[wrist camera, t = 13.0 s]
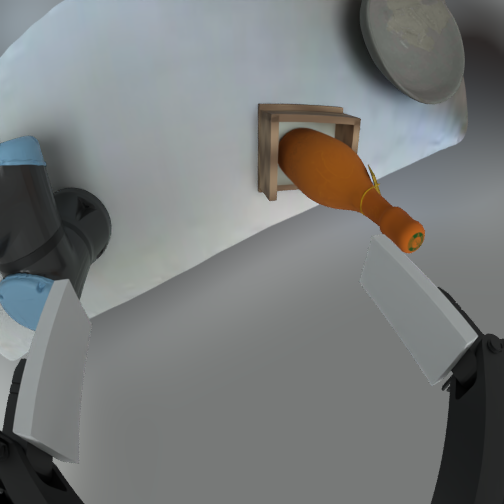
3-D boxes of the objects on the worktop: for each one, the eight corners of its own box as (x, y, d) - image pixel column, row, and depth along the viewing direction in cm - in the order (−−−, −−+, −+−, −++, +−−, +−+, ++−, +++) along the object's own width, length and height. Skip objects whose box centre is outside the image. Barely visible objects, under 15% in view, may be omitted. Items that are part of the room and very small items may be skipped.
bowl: (310, 30, 35) (340, 22, 27) (377, -37, 26) (409, -46, 18) (398, 120, 48) (431, 132, 40) (447, 49, 38) (479, 54, 30)
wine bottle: (318, 179, 51) (426, 278, 27) (269, 176, 48) (362, 288, 24) (328, 129, 45) (461, 200, 22) (277, 122, 43) (399, 190, 19)
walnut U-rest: (333, 185, 53) (350, 199, 48) (258, 190, 50) (268, 206, 45) (341, 107, 44) (361, 113, 39) (258, 103, 41) (270, 107, 36)
